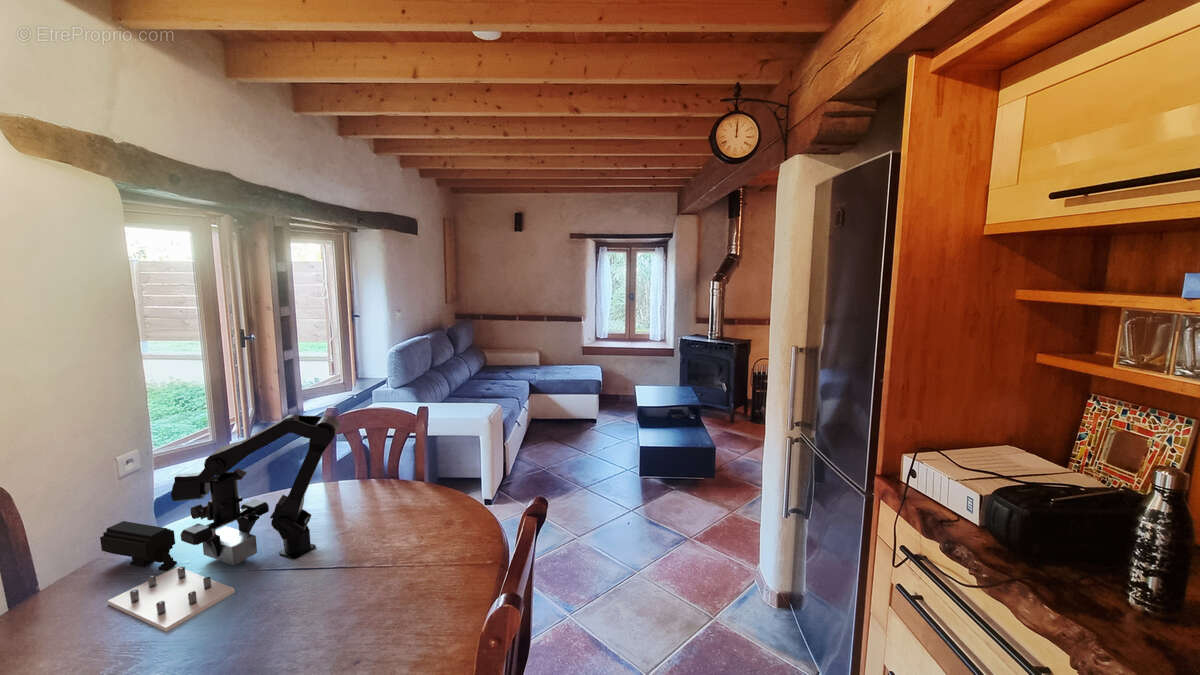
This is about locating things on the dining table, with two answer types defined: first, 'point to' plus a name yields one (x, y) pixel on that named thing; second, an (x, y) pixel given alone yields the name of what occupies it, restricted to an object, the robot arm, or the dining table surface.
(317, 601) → the dining table surface
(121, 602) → the white peg board
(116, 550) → the security camera
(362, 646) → the dining table surface
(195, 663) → the dining table surface
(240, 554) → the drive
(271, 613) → the dining table surface
